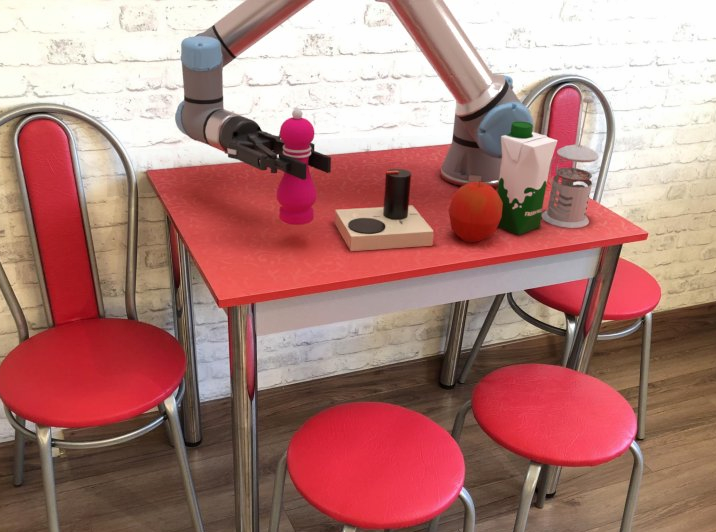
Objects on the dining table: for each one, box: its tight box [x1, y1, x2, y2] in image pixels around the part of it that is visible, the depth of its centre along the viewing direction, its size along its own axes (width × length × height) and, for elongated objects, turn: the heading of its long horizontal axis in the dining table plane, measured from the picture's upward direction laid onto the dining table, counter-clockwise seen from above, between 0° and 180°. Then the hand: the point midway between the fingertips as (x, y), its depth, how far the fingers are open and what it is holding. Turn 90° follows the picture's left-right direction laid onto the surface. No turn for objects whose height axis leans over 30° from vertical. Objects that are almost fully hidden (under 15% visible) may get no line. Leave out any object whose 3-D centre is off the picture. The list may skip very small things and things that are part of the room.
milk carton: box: [496, 122, 558, 236], centre depth 155 cm, size 9×9×20 cm
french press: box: [541, 95, 600, 229], centre depth 159 cm, size 10×12×25 cm
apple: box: [448, 181, 503, 243], centre depth 151 cm, size 10×10×12 cm
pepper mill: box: [276, 108, 317, 226], centre depth 141 cm, size 7×7×20 cm
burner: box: [348, 218, 385, 234], centre depth 149 cm, size 7×7×1 cm
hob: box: [334, 204, 435, 252], centre depth 153 cm, size 16×13×3 cm
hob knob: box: [383, 168, 412, 220], centre depth 152 cm, size 5×5×9 cm
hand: (316, 168), depth 137 cm, fingers closed on pepper mill, 5 cm apart
